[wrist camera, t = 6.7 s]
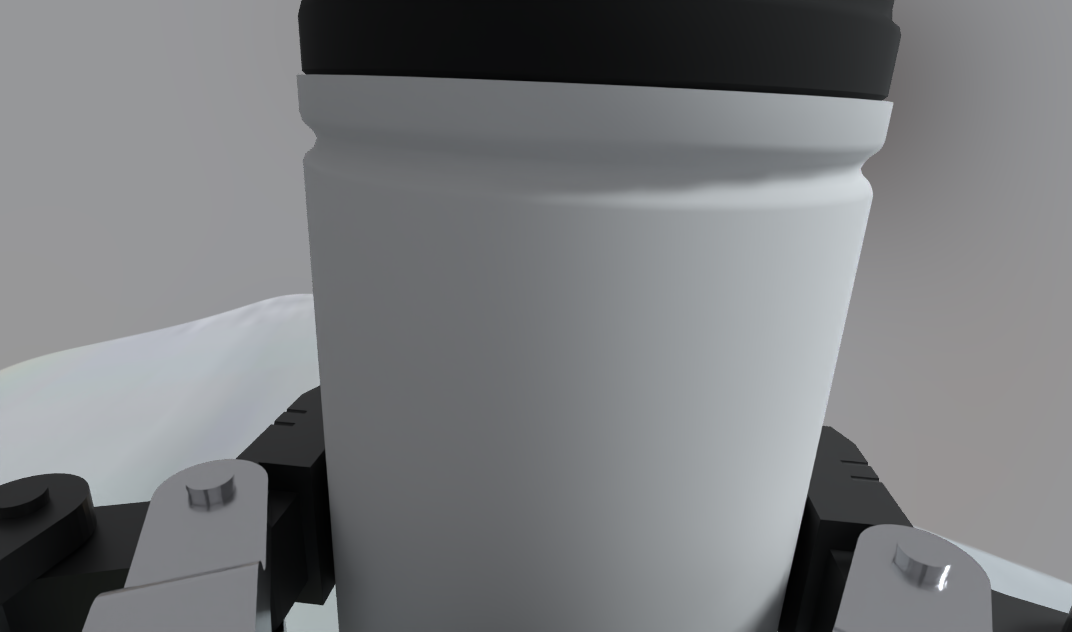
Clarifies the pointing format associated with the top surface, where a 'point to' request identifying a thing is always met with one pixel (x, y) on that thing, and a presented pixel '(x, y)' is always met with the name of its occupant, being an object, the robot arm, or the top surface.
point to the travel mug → (581, 299)
